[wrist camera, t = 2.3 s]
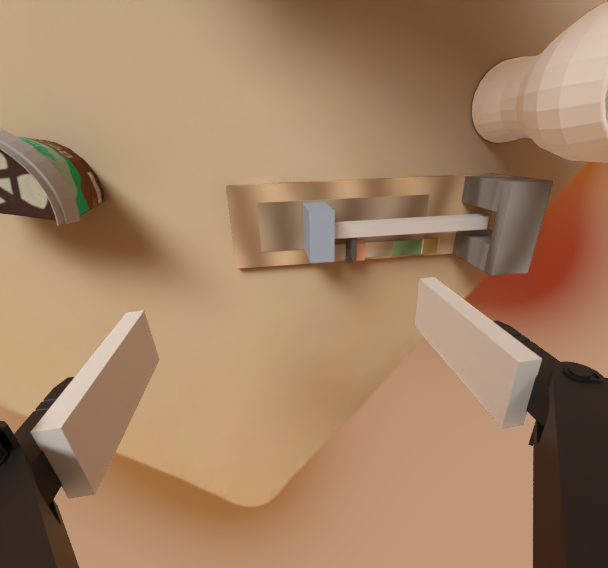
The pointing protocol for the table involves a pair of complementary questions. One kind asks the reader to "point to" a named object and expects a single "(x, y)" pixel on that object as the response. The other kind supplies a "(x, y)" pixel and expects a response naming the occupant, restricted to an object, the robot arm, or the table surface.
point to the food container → (45, 180)
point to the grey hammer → (371, 229)
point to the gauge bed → (389, 205)
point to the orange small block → (360, 251)
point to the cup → (553, 94)
